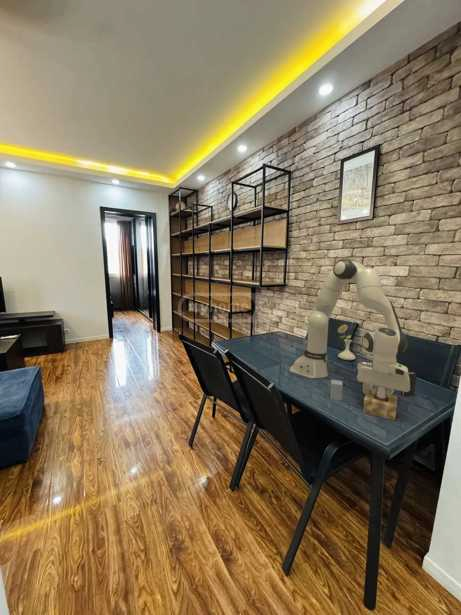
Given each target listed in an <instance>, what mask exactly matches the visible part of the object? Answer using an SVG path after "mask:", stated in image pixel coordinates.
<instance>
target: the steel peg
mask: <svg viewBox="0 0 461 615" xmlns="http://www.w3.org/2000/svg"><path fill="white" fill-rule="evenodd" d="M386 395H387V388H386V387H381V386H377V389H376V399H378V400H382V401H386Z"/></svg>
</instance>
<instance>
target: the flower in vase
mask: <svg viewBox="0 0 461 615" xmlns="http://www.w3.org/2000/svg"><path fill="white" fill-rule="evenodd" d="M348 327H349V326H348V325H347V324H342V325H341V326H339V327H338V328H337V333H339V334H344V335H341V336H339V339H343V341H344V343H345V349H344V350H343V351H341V352H339V353H338V355H337V357H338V358H340V359H341V360H343V361H344V360H345V361H353V360H356V356H355V355H354V354H353V353H352V352H351V350H350V345H351V343H352V339H351V337H352V334H349V335H347V336H346V333H345V332H346V331H347V330H348ZM344 338H346V339H344Z"/></svg>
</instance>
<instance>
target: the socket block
mask: <svg viewBox="0 0 461 615" xmlns="http://www.w3.org/2000/svg"><path fill="white" fill-rule="evenodd" d="M397 403H398V395H395V394H391V398H388V397H387V395H386V401H382V400H378V399H376V394H372V390H369V389H367V392H366V394H365V396H364V399H363V408H362V409H363V413H366V414H369V415H372V416H376V417H379V418H384V419H386V420H387V419H388V420H391V421H396V417H397V416H396V415H397V405H398V404H397Z"/></svg>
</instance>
